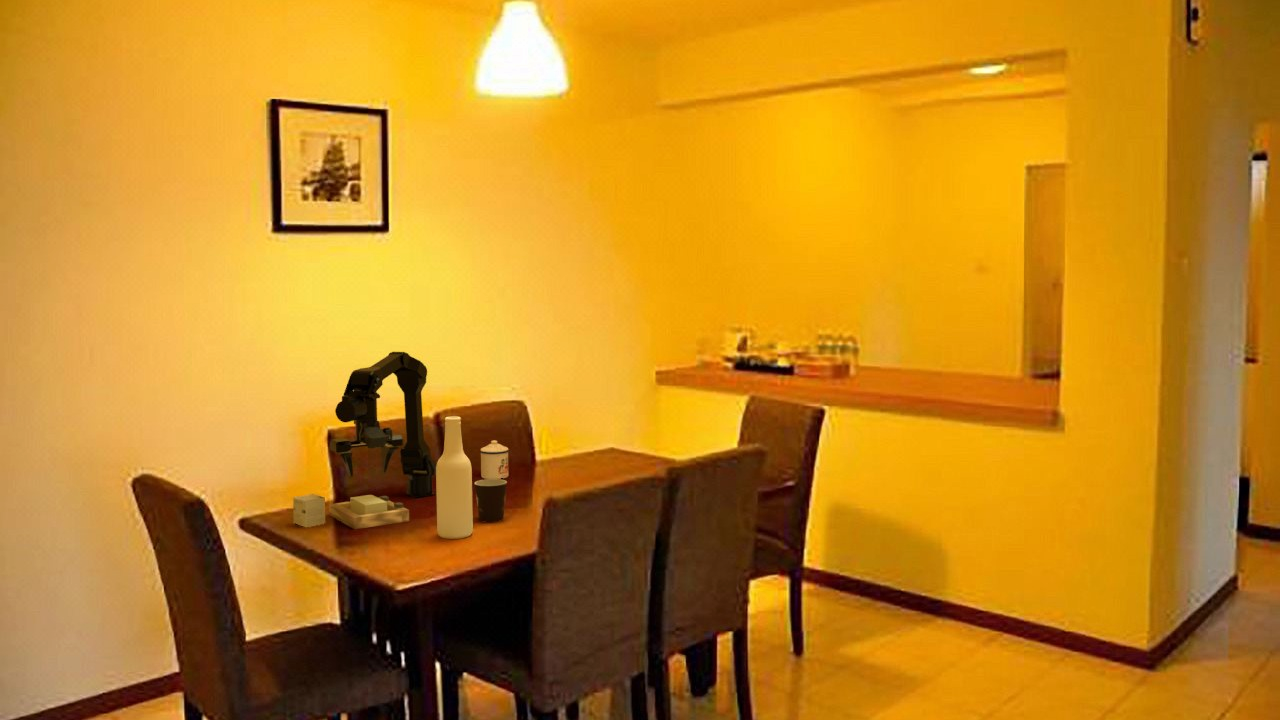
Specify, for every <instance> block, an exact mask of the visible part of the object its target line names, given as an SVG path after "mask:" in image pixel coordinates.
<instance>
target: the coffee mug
mask: <svg viewBox="0 0 1280 720" xmlns="http://www.w3.org/2000/svg"><path fill="white" fill-rule="evenodd" d="M473 484H474V491H475V499H476V506H477V512H478V521H480V520H481V521H480V522H482V521H486V522H485V523H494V522H493V521H498V522H500V521H499V520H501V521H503V520H504V518H505V517H504V516H505V515H504V514H505V505H506V495H507V485H508V481H507V480H504V479H480V480H476V481H475V482H474V483H473ZM502 519H503V520H502Z"/></svg>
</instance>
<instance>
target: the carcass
mask: <svg viewBox="0 0 1280 720" xmlns="http://www.w3.org/2000/svg"><path fill="white" fill-rule="evenodd" d="M377 498H380V499H382V500H384V501H386V502H387V511H385V512H379V513H372V514H365V515H357V514H355V513H353V512H351V504H350V501H344V502H343V501H342V502H336V503H330V504H328V515H329V516H330V517H331V516H332V518H333V517H334V518H333V519H335V518H336V519H335V520H337V521H339V522H340V521H341V522H340V523H343V524H344V525H346V526H348V527H349V528H352V529H353V530H359V529H366V528H372V527H379V526H386V525H392V524H399V523H405V522H410V509H408V508H406V507H404V503H403V502H393V501H391V500H390V499H389V496H387V495H382V496H379V497H378V496H377Z"/></svg>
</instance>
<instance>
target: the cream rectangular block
mask: <svg viewBox="0 0 1280 720" xmlns="http://www.w3.org/2000/svg"><path fill="white" fill-rule="evenodd" d="M349 498H350V501H349V502H350V504H351V512H353V513H355V514H357V515H365V514H372V513H379V512H385V511H387V502H386V501H384V500H382V499H380V498H378V496H375V495H373V494H367V495H366V494H365V495H360V496H353V497H352V496H351V497H349Z"/></svg>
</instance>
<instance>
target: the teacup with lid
mask: <svg viewBox="0 0 1280 720" xmlns="http://www.w3.org/2000/svg"><path fill="white" fill-rule="evenodd" d="M509 450H510V449H509V448H508V447H507V446H505V445H502V444H500V443H498V440H494V439H493V440H491V441H490V443H489V444H487V445H486V446H483V447H481V448H480V450H479V452H480V475H481V478H482V479H483V480H486V479H500V480H502V479H501V478H503V479H507V478H508V477H509V452H510V451H509Z"/></svg>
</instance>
